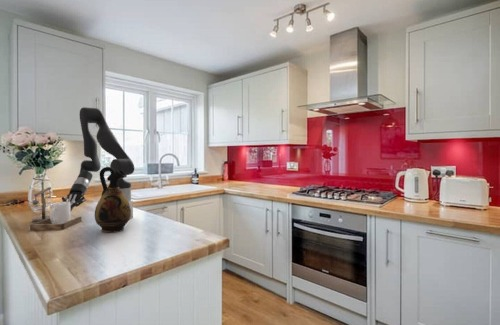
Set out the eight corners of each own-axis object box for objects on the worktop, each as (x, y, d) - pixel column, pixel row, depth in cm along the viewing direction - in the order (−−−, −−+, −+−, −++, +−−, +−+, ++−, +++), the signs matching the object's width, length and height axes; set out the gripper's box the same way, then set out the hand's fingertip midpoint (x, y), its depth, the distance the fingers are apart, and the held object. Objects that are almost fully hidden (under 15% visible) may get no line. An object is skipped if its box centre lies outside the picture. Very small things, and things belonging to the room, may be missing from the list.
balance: (59, 216, 151) (58, 186, 151) (38, 223, 135) (37, 190, 134) (48, 216, 151) (47, 186, 150) (26, 223, 135) (25, 190, 134)
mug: (59, 226, 129) (58, 206, 129) (41, 227, 129) (41, 206, 128) (74, 220, 141) (73, 201, 141) (58, 220, 141) (57, 201, 140)
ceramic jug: (137, 225, 132) (135, 166, 131) (121, 234, 117) (119, 167, 116) (103, 225, 132) (102, 166, 131) (83, 234, 117) (82, 167, 116)
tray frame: (81, 221, 140) (81, 216, 140) (63, 229, 125) (62, 224, 125) (52, 221, 139) (52, 217, 139) (30, 230, 124) (30, 224, 124)
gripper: (65, 183, 150) (50, 208, 138) (89, 182, 150) (76, 208, 139) (71, 190, 155) (57, 216, 144) (94, 190, 156) (82, 216, 144)
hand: (67, 212), depth 141 cm, fingers closed
